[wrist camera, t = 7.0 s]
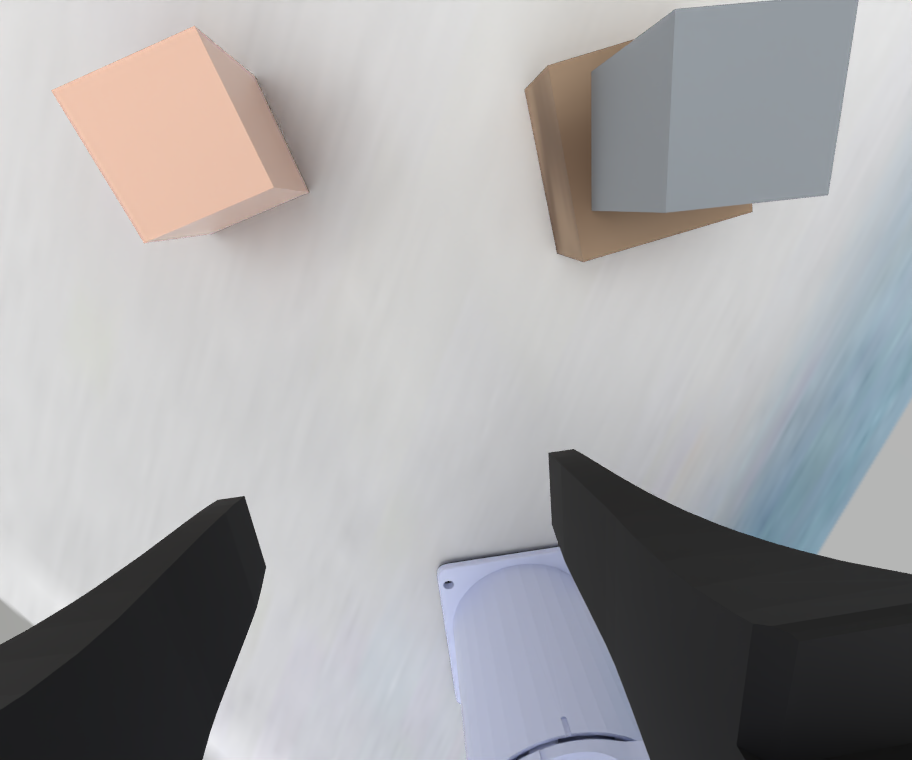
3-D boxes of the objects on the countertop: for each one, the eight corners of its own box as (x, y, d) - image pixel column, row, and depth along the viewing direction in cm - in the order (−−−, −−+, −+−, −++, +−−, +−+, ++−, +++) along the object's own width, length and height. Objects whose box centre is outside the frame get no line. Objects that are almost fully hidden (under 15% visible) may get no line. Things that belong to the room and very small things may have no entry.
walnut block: (696, 210, 20) (752, 211, 17) (555, 252, 20) (583, 261, 17) (679, 44, 18) (741, 7, 14) (522, 91, 18) (547, 65, 15)
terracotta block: (309, 192, 18) (274, 187, 13) (212, 233, 18) (144, 243, 14) (254, 76, 17) (194, 26, 12) (150, 122, 17) (51, 90, 12)
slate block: (708, 198, 16) (828, 194, 12) (591, 210, 16) (665, 212, 11) (718, 59, 15) (859, -8, 10) (591, 71, 15) (675, 8, 10)
